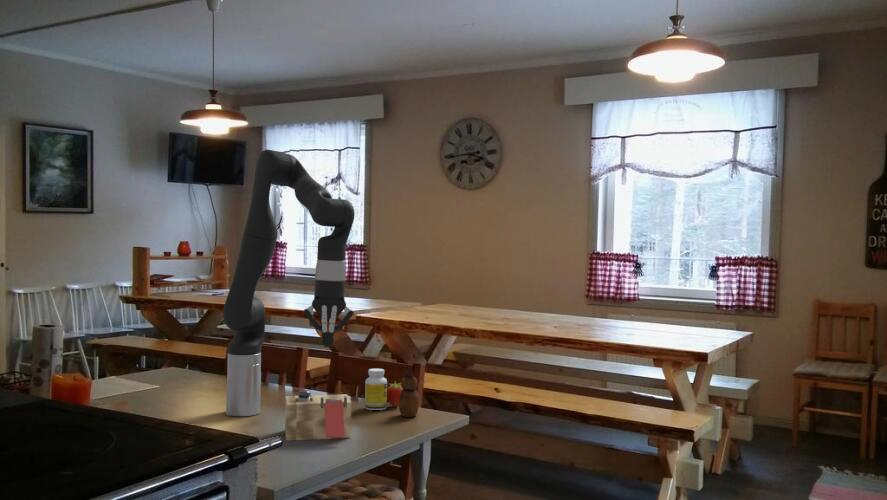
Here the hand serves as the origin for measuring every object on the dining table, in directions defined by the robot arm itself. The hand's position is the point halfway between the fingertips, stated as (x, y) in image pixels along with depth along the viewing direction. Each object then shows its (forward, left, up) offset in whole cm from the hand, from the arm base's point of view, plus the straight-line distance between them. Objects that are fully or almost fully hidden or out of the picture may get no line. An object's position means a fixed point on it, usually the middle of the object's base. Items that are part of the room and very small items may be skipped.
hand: (326, 346), depth 192 cm
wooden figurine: (+25, +21, -24) cm, 40 cm away
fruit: (+23, +33, -24) cm, 47 cm away
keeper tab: (+2, -3, -17) cm, 18 cm away
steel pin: (-5, +5, -23) cm, 24 cm away
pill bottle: (+17, +31, -24) cm, 42 cm away
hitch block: (-2, +5, -23) cm, 24 cm away
